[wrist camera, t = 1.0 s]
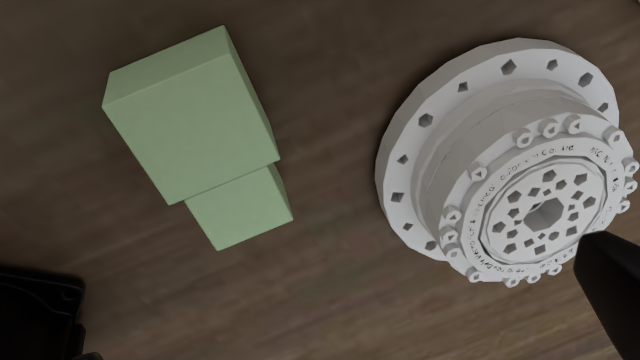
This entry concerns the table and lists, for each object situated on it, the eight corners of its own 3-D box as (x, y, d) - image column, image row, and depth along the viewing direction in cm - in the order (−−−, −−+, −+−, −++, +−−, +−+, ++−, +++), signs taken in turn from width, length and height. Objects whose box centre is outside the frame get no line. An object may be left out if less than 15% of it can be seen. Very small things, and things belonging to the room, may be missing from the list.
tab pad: (109, 72, 17) (100, 106, 15) (223, 24, 17) (230, 52, 15) (201, 215, 21) (204, 258, 19) (294, 176, 21) (307, 215, 19)
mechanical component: (383, 265, 25) (580, 210, 26) (417, 340, 22) (644, 274, 22) (359, 70, 19) (615, 7, 20) (401, 130, 16) (710, 51, 16)
